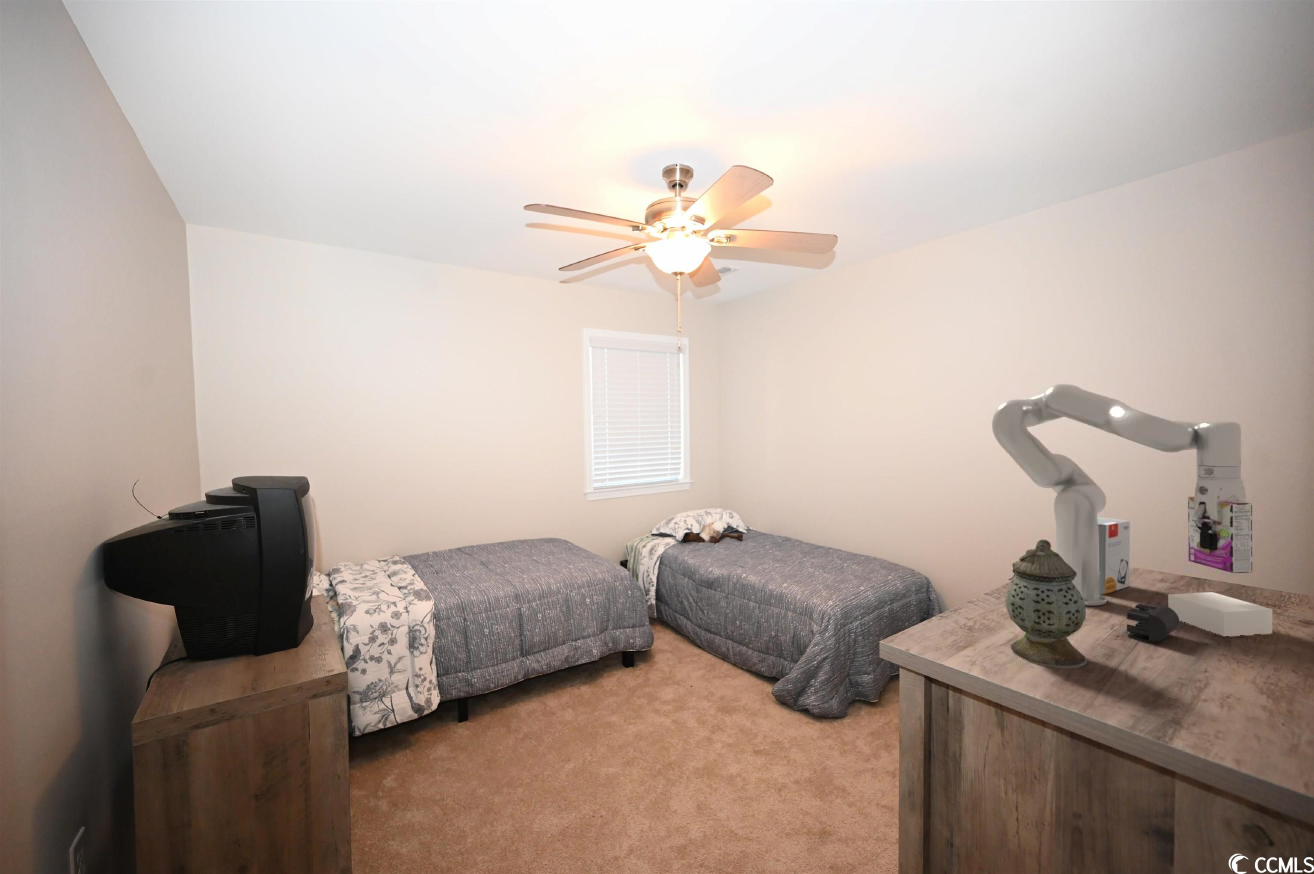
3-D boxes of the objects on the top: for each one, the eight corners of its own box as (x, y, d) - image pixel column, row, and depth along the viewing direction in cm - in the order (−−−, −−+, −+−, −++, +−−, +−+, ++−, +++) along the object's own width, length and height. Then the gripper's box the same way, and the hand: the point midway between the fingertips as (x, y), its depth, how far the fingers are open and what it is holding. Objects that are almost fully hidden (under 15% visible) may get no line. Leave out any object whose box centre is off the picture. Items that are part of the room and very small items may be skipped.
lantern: (1046, 672, 113) (1045, 549, 112) (991, 645, 127) (990, 535, 126) (1104, 664, 115) (1103, 544, 115) (1043, 638, 129) (1043, 531, 129)
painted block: (1224, 637, 128) (1224, 611, 128) (1168, 618, 141) (1168, 594, 141) (1272, 635, 129) (1272, 609, 129) (1212, 615, 142) (1212, 592, 142)
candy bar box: (1186, 561, 140) (1186, 496, 139) (1206, 561, 140) (1206, 495, 139) (1232, 573, 129) (1231, 502, 128) (1254, 573, 129) (1253, 502, 128)
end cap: (1166, 648, 123) (1166, 617, 123) (1126, 638, 129) (1126, 609, 128) (1179, 637, 129) (1179, 607, 128) (1140, 628, 134) (1140, 600, 134)
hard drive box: (1105, 595, 158) (1104, 525, 158) (1074, 588, 165) (1073, 521, 164) (1130, 586, 166) (1130, 519, 165) (1100, 580, 172) (1100, 516, 172)
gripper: (1209, 476, 128) (1209, 554, 129) (1265, 472, 132) (1265, 548, 132) (1172, 473, 136) (1173, 547, 136) (1226, 470, 139) (1227, 542, 140)
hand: (1218, 547), depth 134 cm, fingers closed on candy bar box, 5 cm apart
